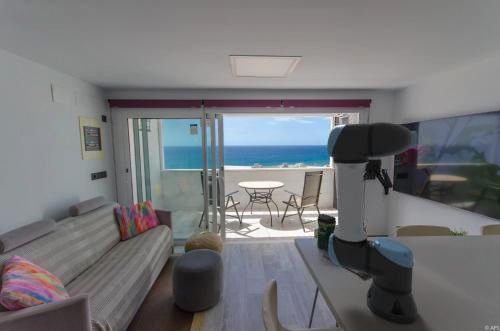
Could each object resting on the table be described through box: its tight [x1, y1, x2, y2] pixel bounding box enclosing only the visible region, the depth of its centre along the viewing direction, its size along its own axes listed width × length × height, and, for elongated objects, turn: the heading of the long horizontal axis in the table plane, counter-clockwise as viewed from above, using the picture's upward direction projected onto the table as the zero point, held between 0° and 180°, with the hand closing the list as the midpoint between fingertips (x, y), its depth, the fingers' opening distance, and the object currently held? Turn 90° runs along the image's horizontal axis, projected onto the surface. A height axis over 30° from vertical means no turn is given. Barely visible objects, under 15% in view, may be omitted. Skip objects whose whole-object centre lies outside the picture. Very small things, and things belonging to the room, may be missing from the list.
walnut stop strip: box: [357, 271, 370, 278], centre depth 103 cm, size 18×2×2 cm, turn 119°
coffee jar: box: [316, 213, 337, 251], centre depth 127 cm, size 10×8×19 cm
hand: (372, 198), depth 122 cm, fingers open, 13 cm apart
